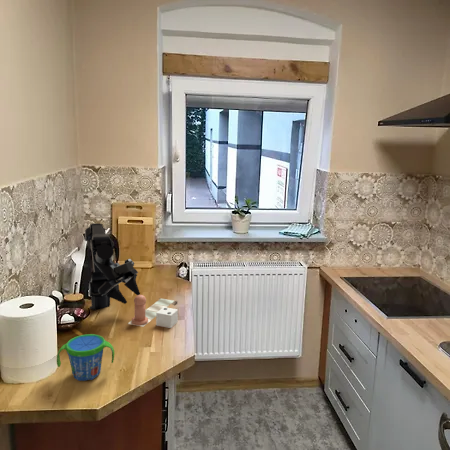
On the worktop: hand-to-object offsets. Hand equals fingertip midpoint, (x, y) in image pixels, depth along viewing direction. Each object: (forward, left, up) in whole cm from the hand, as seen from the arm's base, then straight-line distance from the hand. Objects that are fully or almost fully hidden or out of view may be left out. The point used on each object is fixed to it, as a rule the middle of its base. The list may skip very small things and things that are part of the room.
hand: (132, 298), depth 145 cm
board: (+11, +2, -10) cm, 15 cm away
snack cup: (-29, -20, -10) cm, 37 cm away
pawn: (+1, -3, -9) cm, 9 cm away
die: (+8, -11, -10) cm, 16 cm away
